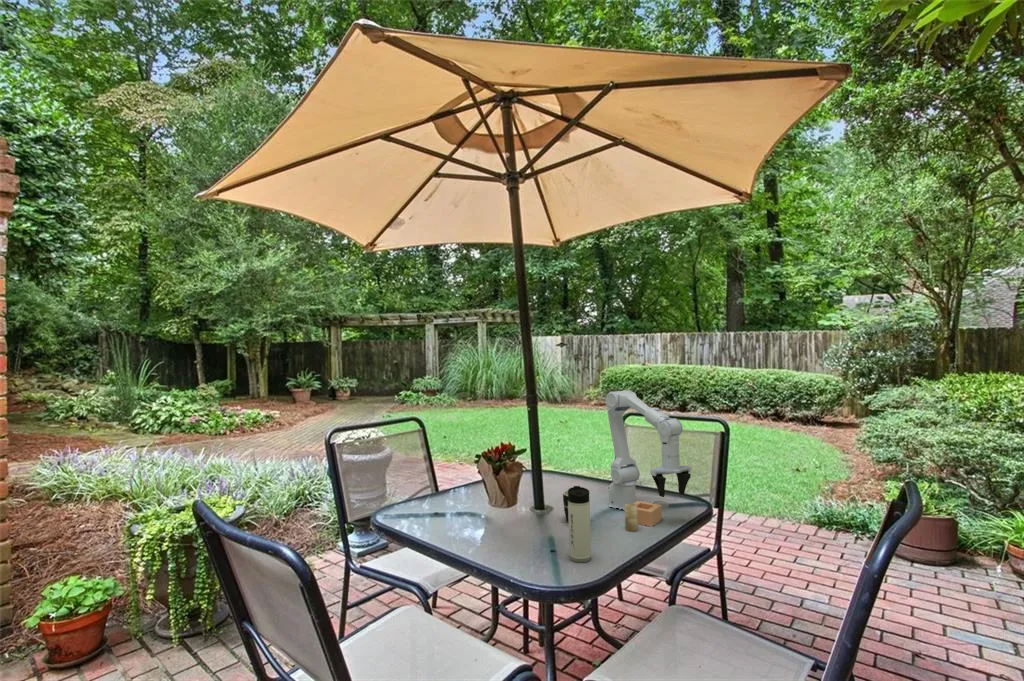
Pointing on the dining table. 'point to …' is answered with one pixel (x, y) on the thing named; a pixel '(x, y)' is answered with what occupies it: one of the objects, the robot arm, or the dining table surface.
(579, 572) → the dining table surface
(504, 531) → the dining table surface
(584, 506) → the travel mug
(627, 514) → the peg
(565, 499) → the mug
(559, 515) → the dining table surface
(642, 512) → the socket block
